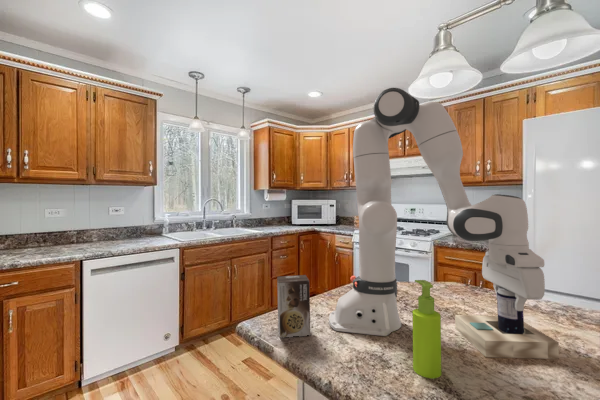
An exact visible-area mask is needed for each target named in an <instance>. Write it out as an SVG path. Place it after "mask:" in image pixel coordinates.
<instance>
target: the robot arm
mask: <svg viewBox="0 0 600 400" xmlns="http://www.w3.org/2000/svg"><path fill="white" fill-rule="evenodd" d="M373 114H374V115H373V116H374V117H373V118H371V119H370V120H368V121H364V122H362V123H359V124H358V125H356V127H355V129H354V131H353V139H352V140H353V141H352V157H353V158H352V159H353V169H354V180H355V190H356V202H357V203H356V204H357V213H358V214H357V215H358V249H359V250H358V256H359V257H358V263H359V264H358V269H359V270H358V271H359V274H358V276H356V275H351V277H349V278H350V282H351V283H352V288H351V289H350V290H349V291H348V292H346V293H344V294H343V295H341V296H340V297H339V298H338V299H337V303H336V307H335V310H332V311H331V312H330V313H329V316H328V323H329V326H330V327H331V328H332V329H333V331H337V332H343V333H344V332H345V333H352V334H353V333H354V334H364V335H371V336H372V335H373V336H382V337H387V336H389V335H390V334H391V332H395V331H397V330H399V329H400V328H401V327H402V322H401V318H400V314H399V309H398V304H397V297H398V282H397V278H396V249H397V248H396V247H397V246H396V245H397V233H398V214H397V212H396V209H395V207H394V206H393V205H392V175H391V165H390V164H391V163H390V152H389V151H390V150H389V139H391V138H393V137H394V138H395V137H396V136H399V135H400V134H402V133H404V132H405V131H408V132H410V133H411V135H413V136H412V137H414V141H415V143H416V146H417V148H418V151H419V153H420V155H421V157H422V159H423V161H424V162H425V164H426V166H427V168H428V169H429V170H430V172H431V174H432V175H433V176H434V178H435V180H436V181H437V184H438V185H439V188H440V191H441V194H442V197H443V201H444V202H445V205H446V209H447V212H446V227H447V228H448V231H449V232H451V234H452V235H453V236H455V237H458V238H460V239H462V240H464V241H467V242H471V243H474V242H481V241H488V249H487V250H486V251H485V253H484V254H485V255H484V256H483V258H482V267H481V268H482V269H481V274H482V277H483V279H484V280H486V281H488V282H491V283H492V284H493V285H492V286H493V289H494V291H495V296H496V297H495V298H496V299H497V291H498V287H500V286H501V287H503V288H505V289H507V290H509V291H511V292H513V293H515V297H516V301H515V302H513V308H514V309H515V310H517V311H523V312H524V310H525V304H526V302H527V300H533V301H534V300H536V301H537V300H542V299H543V298H544V296H545V292H546V290H545V287H546V285H545V281H546V280H545V275H544V274H545V273H544V271H543V269H542V268H545V259H544V258H542V256H539V255H538V254H536V253H535V251H533V250H532V249H530V241H529V240H528V231H529V214H528V209H527V208H528V207H527V205H526V202H525V200H524V199H523V198H521V197H519V196H515V195H508V194H501V193H499V194H498V193H497V194H491V196H489V197H488V198H486V199H484V200H482V201H480V202H478V203H475V204H471V202H470V201H469V198H468V195H467V192H466V190H465V187H464V184H463V182H462V178H461V172H460V171H461V163H462V160H463V156H464V151H463V145H462V140H461V137H460V135H459V131H458V129H457V128H456V126H455V125H456V124H455V122H454V121H453V118H452V117H451V116H450V114H449V113H448V111H447V109H446V108H445V106H444V105H443V104H442V103H441V102H438V101H428V102H425V103H423V104H420V101H419V100H418V99H417V98H416V97H414V96H412V95H411V94H410V93H408V92H407V91H405V90H404V89H401V88H399V87H389V88H386V89H384V90H382V91H381V92H380V93H379V94H378V95H377V97H376V99H375V100H374V103H373Z"/></svg>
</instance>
